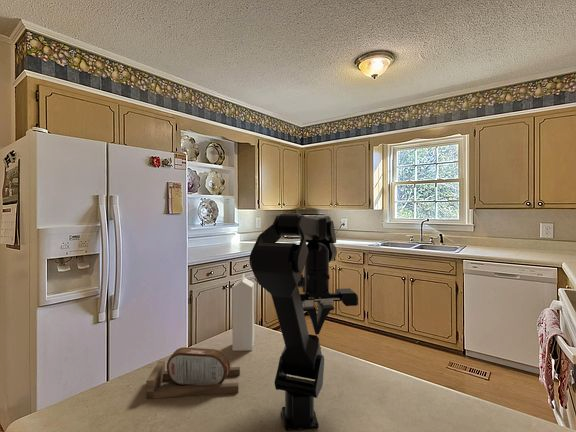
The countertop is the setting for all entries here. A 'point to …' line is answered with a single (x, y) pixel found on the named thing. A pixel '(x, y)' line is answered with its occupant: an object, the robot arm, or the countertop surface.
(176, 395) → the wooden frame
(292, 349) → the robot arm
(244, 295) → the milk
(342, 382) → the countertop surface
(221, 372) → the tin
